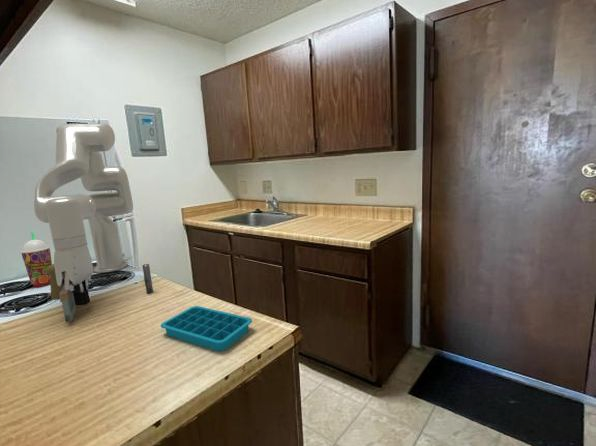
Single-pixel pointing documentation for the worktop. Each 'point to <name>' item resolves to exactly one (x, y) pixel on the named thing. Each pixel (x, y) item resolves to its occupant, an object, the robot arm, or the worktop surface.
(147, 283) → the gate posts
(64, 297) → the gate
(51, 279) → the cork
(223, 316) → the ice cube tray
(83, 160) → the robot arm
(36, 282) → the smoothie
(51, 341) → the worktop surface
